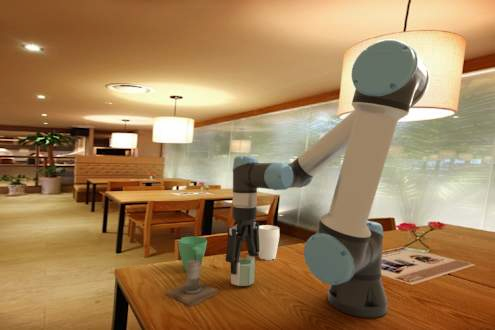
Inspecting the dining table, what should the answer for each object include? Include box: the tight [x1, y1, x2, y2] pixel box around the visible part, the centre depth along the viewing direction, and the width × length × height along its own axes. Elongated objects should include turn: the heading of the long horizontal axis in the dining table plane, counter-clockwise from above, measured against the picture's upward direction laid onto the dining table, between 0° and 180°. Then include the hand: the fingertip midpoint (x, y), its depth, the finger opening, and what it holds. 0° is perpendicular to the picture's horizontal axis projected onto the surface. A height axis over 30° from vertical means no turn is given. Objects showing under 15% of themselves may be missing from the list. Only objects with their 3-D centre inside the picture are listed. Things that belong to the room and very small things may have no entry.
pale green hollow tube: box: [238, 257, 256, 287], centre depth 90 cm, size 7×7×6 cm
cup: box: [258, 224, 280, 261], centre depth 116 cm, size 9×9×12 cm
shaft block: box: [166, 260, 219, 307], centre depth 82 cm, size 10×10×9 cm
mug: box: [177, 236, 208, 271], centre depth 98 cm, size 15×10×10 cm
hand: (243, 280), depth 90 cm, fingers closed on pale green hollow tube, 7 cm apart
